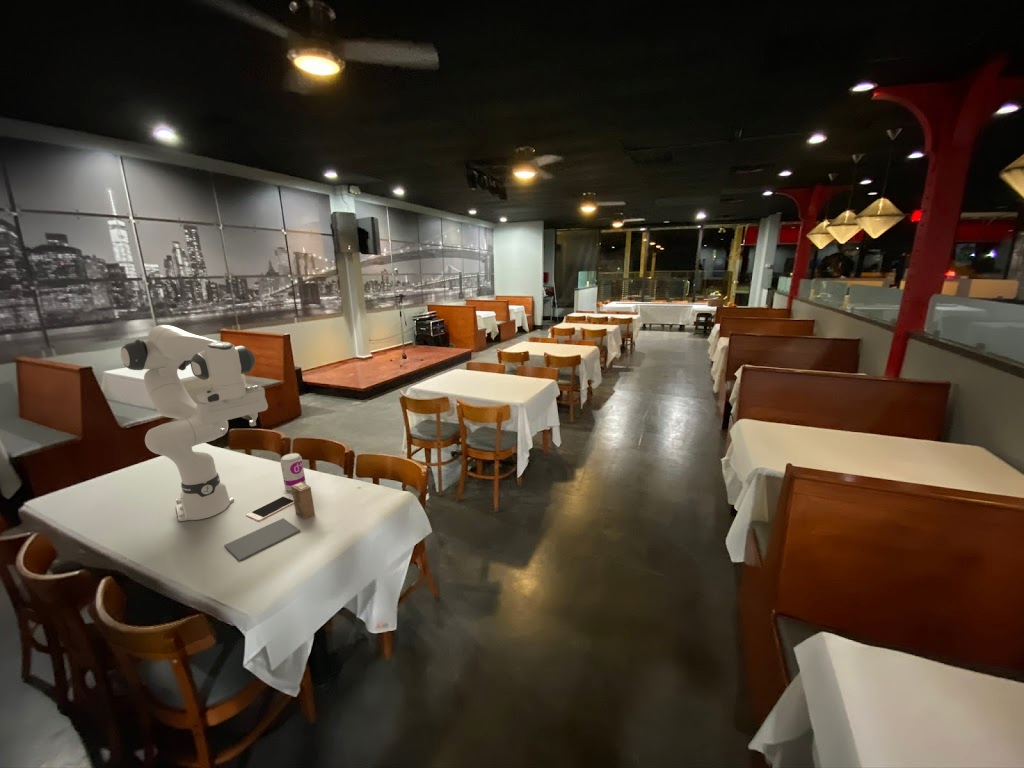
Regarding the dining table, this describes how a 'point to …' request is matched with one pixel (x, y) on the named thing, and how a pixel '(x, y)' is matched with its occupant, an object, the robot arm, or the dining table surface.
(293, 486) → the walnut block
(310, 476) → the dining table surface
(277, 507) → the cell phone
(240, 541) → the rubber mat
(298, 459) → the supplement can
